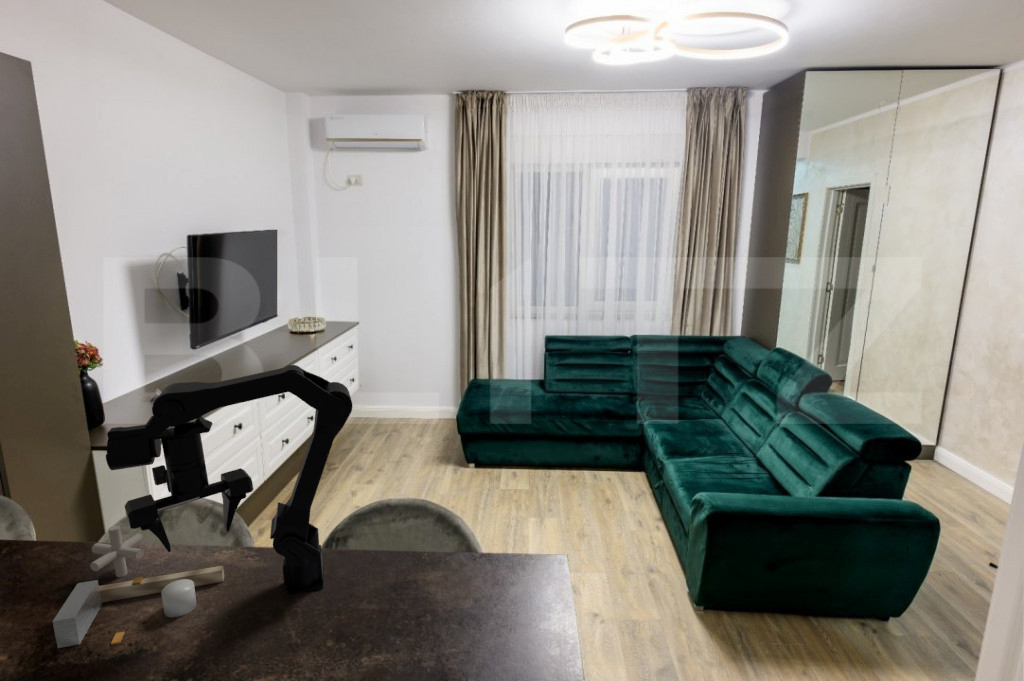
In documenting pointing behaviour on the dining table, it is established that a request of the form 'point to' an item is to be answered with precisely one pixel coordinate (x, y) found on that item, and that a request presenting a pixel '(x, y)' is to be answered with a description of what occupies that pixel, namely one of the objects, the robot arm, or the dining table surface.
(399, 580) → the dining table surface
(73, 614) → the block
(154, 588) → the oak rail
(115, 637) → the small orange-brown block
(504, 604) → the dining table surface
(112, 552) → the pipe connector
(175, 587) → the grey egg-shaped dome
